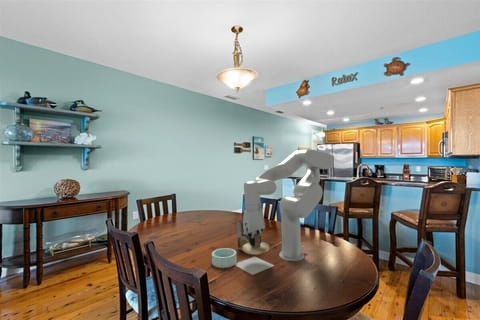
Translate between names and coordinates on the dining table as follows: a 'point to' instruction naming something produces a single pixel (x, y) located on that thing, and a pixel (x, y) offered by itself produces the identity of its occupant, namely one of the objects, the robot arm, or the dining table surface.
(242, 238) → the coffee box
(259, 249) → the lid
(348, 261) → the dining table surface
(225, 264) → the bowl
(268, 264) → the mat
